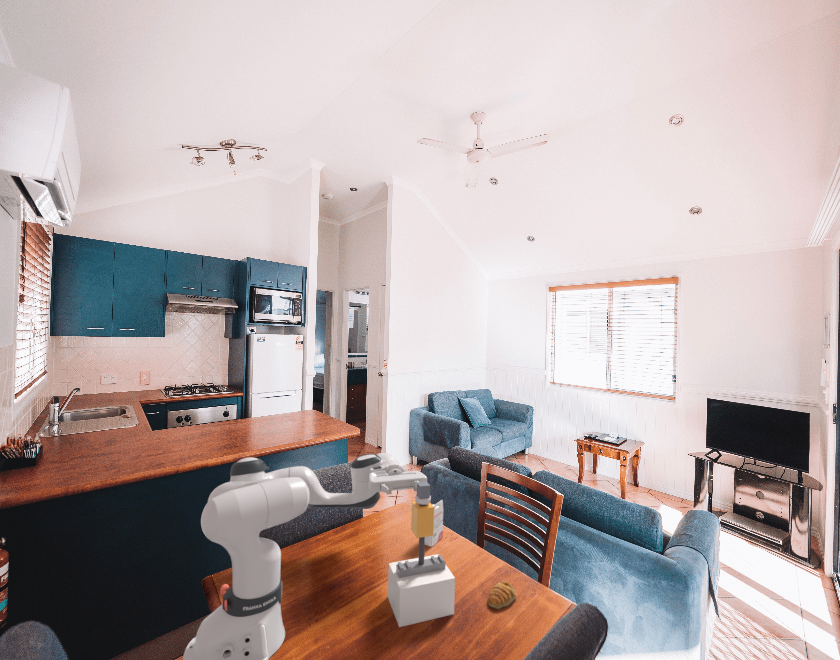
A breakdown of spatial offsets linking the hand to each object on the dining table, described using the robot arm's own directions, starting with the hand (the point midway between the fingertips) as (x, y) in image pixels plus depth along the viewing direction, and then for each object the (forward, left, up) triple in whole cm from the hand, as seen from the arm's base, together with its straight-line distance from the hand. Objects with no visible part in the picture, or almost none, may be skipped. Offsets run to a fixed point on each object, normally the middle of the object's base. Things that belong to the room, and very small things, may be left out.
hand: (403, 490), depth 122 cm
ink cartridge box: (+20, +13, -28) cm, 36 cm away
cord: (-1, -15, -17) cm, 23 cm away
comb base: (-1, -15, -27) cm, 31 cm away
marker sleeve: (-1, -15, -6) cm, 16 cm away
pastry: (+22, -23, -28) cm, 42 cm away
